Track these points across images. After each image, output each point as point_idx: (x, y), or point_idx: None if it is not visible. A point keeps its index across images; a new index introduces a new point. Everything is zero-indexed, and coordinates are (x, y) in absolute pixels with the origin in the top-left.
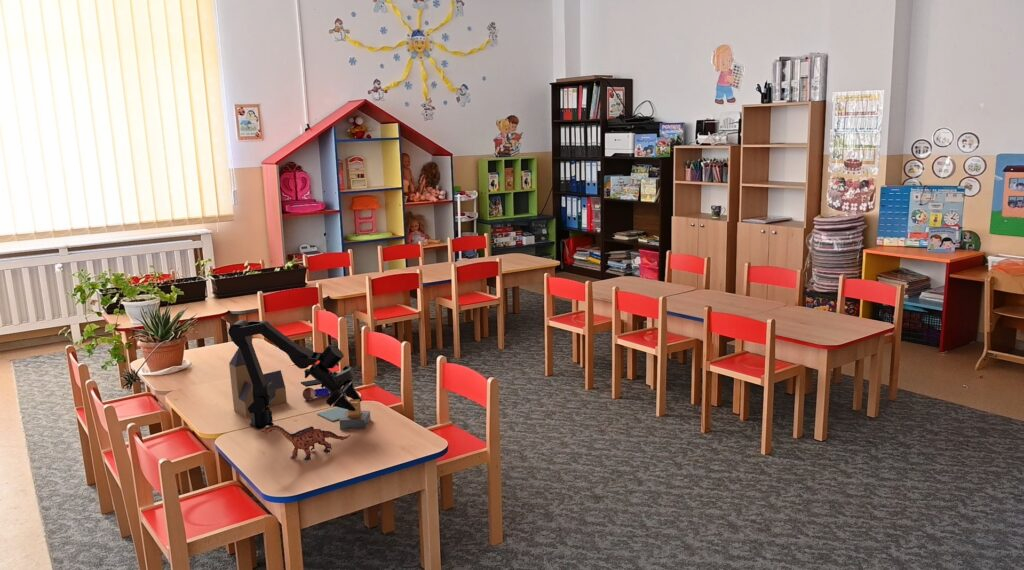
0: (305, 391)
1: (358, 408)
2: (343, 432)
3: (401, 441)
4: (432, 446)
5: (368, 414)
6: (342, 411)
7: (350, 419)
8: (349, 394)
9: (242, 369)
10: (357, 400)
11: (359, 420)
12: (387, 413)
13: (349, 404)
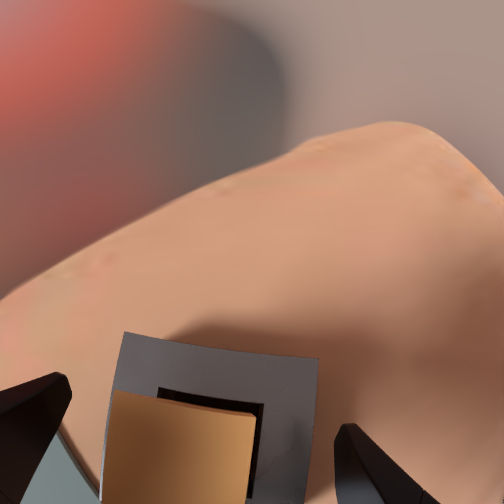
0: None
1: (232, 412)
2: None
3: (423, 195)
4: (425, 135)
5: (176, 343)
6: None
7: (296, 467)
8: (4, 485)
9: None
10: (159, 423)
11: (315, 396)
12: (87, 261)
13: (408, 485)
